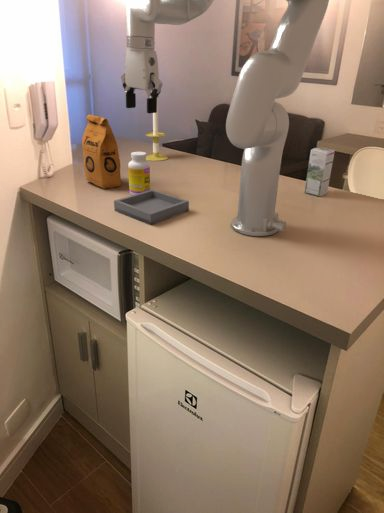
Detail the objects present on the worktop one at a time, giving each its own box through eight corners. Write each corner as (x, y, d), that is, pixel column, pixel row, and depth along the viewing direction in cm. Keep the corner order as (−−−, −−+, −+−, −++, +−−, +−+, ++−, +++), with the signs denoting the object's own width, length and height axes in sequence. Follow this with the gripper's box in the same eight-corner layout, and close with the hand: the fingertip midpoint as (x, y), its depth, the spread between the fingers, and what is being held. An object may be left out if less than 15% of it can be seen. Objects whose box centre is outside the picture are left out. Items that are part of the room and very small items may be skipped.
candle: (158, 154, 181) (157, 87, 169) (172, 158, 175) (173, 90, 162) (139, 157, 175) (137, 88, 163) (154, 162, 169) (152, 91, 156)
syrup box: (327, 193, 138) (335, 149, 132) (319, 197, 134) (327, 152, 128) (312, 189, 142) (319, 146, 135) (303, 193, 138) (310, 149, 131)
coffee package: (99, 191, 134) (93, 120, 124) (82, 181, 143) (75, 114, 133) (125, 186, 140) (122, 117, 130) (108, 177, 148) (103, 112, 138)
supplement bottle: (146, 197, 130) (145, 156, 124) (126, 195, 131) (124, 154, 125) (152, 191, 135) (152, 151, 130) (133, 189, 137) (131, 150, 131)
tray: (188, 210, 120) (188, 201, 119) (150, 225, 110) (150, 214, 109) (152, 198, 129) (152, 189, 128) (114, 210, 119) (113, 200, 118)
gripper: (172, 46, 110) (170, 114, 118) (132, 43, 121) (133, 105, 129) (150, 45, 105) (149, 116, 113) (110, 42, 116) (113, 106, 124)
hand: (141, 110), depth 121 cm, fingers open, 9 cm apart
